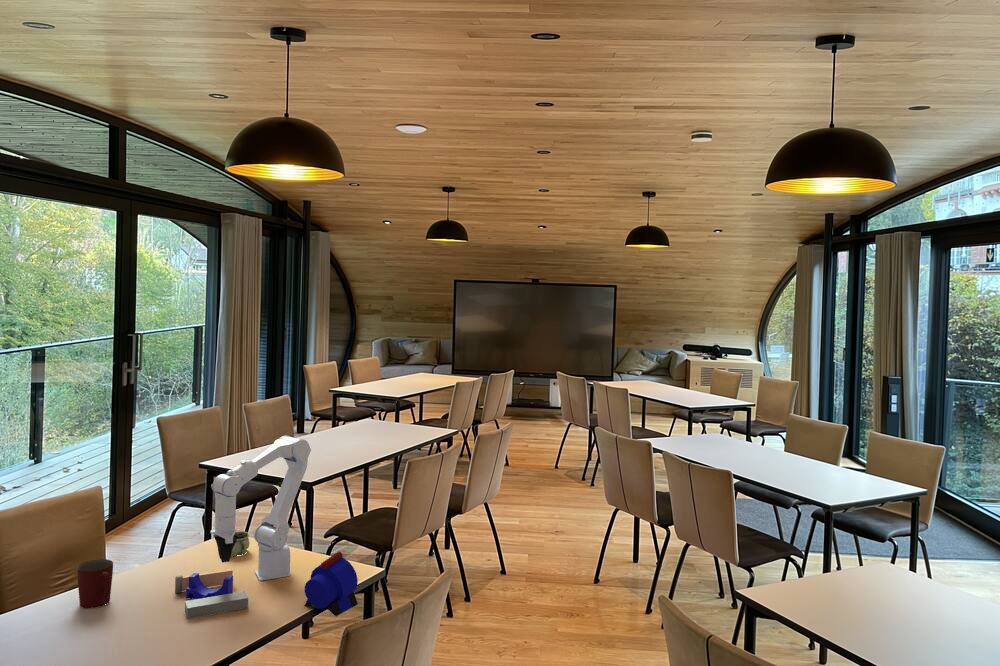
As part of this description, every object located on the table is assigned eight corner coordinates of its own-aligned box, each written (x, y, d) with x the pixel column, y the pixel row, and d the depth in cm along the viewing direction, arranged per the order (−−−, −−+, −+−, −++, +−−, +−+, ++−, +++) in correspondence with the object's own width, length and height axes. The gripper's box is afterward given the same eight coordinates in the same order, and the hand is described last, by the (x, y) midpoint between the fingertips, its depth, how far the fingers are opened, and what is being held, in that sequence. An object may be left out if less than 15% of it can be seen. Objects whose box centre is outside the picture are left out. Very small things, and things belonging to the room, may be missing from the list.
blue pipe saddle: (185, 598, 210) (186, 578, 210) (193, 592, 214) (194, 572, 214) (225, 601, 209) (226, 581, 209) (232, 595, 214) (233, 575, 213)
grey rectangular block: (244, 601, 210) (244, 590, 209) (248, 608, 205) (248, 597, 205) (184, 611, 202) (184, 600, 201) (187, 618, 197) (187, 608, 197)
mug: (123, 605, 203) (124, 567, 203) (90, 616, 196) (91, 576, 196) (103, 593, 211) (104, 556, 210) (71, 603, 203) (71, 565, 203)
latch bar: (231, 581, 222) (231, 567, 222) (232, 584, 220) (232, 569, 220) (174, 590, 214) (174, 576, 214) (175, 593, 212) (175, 578, 212)
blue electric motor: (359, 603, 211) (361, 553, 210) (331, 619, 200) (332, 566, 200) (327, 594, 217) (328, 545, 216) (298, 609, 206) (299, 557, 205)
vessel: (257, 554, 247) (257, 536, 246) (233, 561, 240) (234, 542, 240) (238, 545, 254) (238, 528, 254) (214, 551, 247) (215, 533, 247)
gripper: (207, 509, 219) (206, 553, 220) (215, 523, 207) (214, 570, 208) (231, 507, 223) (230, 550, 224) (240, 520, 210) (239, 566, 211)
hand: (224, 559), depth 216 cm, fingers open, 3 cm apart
